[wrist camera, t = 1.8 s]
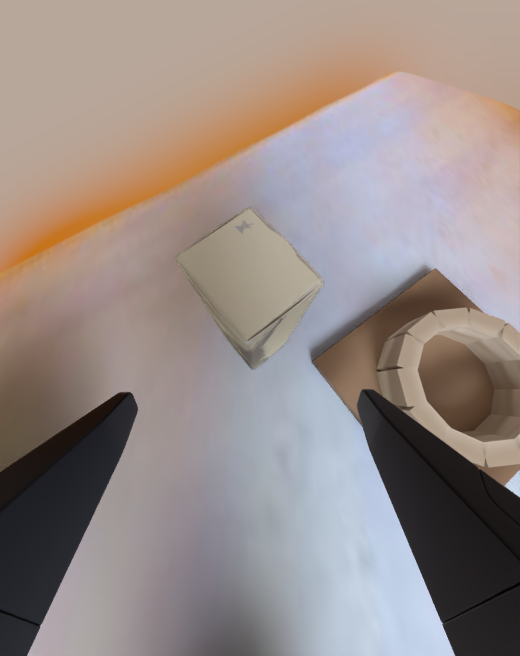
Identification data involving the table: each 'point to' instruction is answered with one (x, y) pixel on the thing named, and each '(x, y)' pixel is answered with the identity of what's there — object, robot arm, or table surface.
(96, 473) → the robot arm
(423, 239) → the table surface
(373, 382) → the ring socket
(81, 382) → the table surface
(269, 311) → the box
